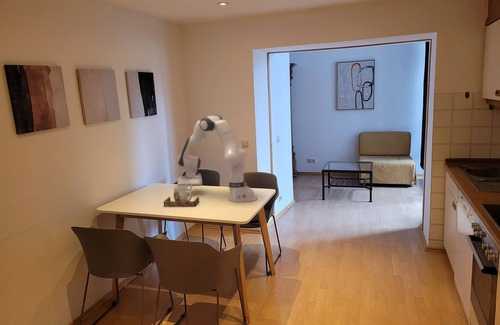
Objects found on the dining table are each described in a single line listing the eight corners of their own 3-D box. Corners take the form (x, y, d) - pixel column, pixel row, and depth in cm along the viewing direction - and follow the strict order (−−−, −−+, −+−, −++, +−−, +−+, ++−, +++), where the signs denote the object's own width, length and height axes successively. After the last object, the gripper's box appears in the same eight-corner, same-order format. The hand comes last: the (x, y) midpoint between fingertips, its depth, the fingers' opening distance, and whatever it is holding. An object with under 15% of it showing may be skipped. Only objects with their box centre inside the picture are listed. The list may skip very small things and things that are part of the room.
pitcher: (187, 207, 283) (186, 189, 280) (168, 204, 291) (167, 187, 289) (196, 203, 292) (195, 185, 289) (178, 200, 301) (176, 183, 298)
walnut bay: (199, 201, 296) (199, 196, 295) (195, 206, 283) (194, 201, 282) (169, 201, 299) (168, 196, 298) (163, 206, 286) (163, 201, 285)
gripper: (177, 173, 317) (175, 188, 309) (201, 173, 314) (199, 188, 306) (179, 177, 322) (177, 192, 314) (203, 177, 319) (201, 192, 312)
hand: (188, 190), depth 310 cm, fingers closed
